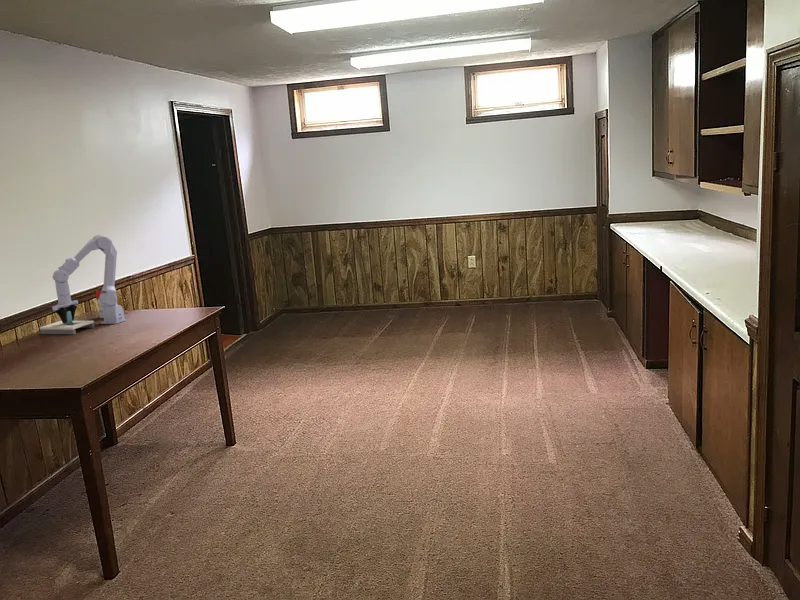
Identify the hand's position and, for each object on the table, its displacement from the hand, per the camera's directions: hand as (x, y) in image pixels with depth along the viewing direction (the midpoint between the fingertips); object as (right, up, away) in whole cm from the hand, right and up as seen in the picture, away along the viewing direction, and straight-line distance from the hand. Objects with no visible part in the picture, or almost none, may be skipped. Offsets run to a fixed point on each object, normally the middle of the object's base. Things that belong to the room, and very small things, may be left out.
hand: (68, 321), depth 335 cm
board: (-1, -4, +1) cm, 5 cm away
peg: (0, -4, +1) cm, 4 cm away
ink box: (+8, +1, +28) cm, 29 cm away
